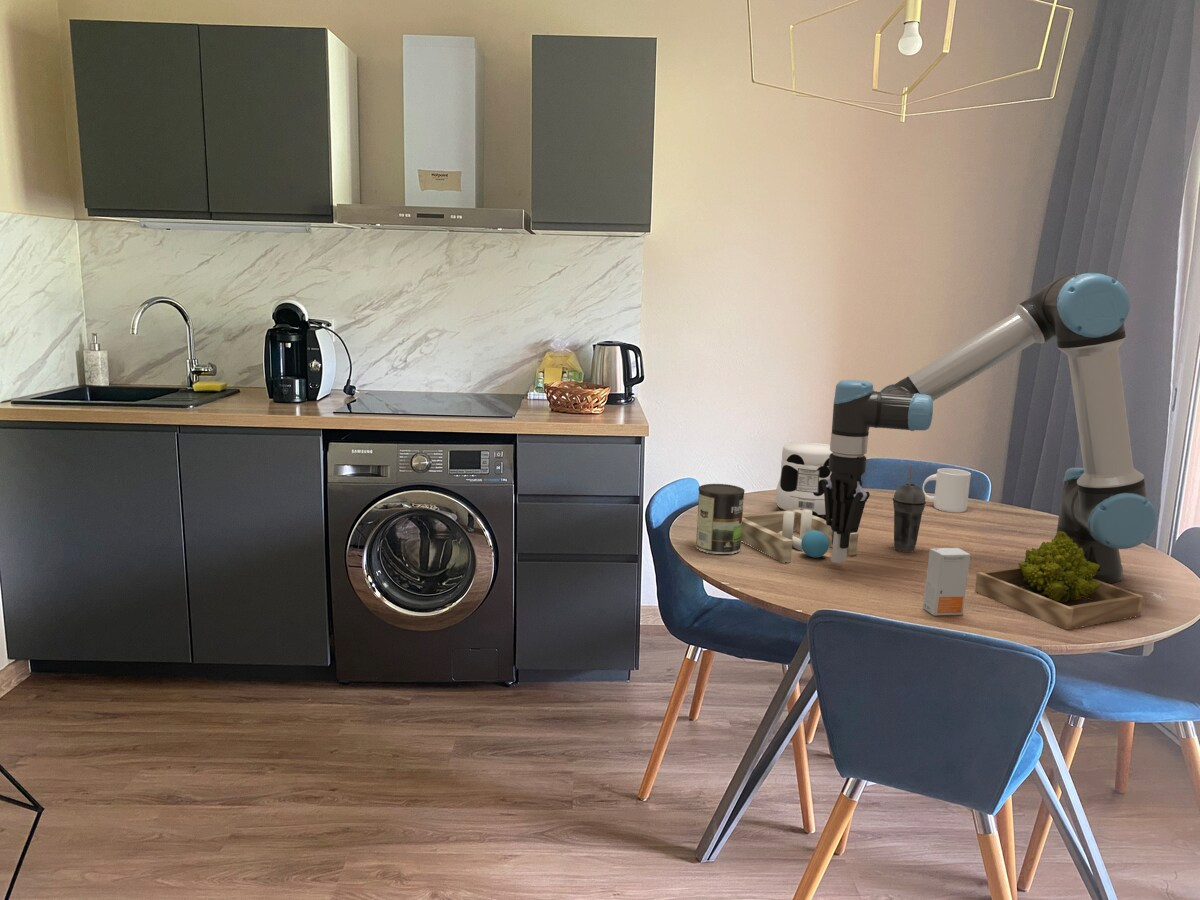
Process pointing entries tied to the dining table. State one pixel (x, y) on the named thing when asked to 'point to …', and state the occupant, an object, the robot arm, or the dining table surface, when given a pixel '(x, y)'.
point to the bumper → (764, 535)
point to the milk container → (803, 477)
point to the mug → (950, 489)
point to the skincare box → (946, 581)
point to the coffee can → (719, 518)
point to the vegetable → (1059, 570)
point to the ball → (815, 544)
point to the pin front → (795, 542)
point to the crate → (1106, 608)
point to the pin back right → (805, 522)
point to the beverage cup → (907, 515)
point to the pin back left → (788, 524)
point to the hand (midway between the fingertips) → (838, 561)
